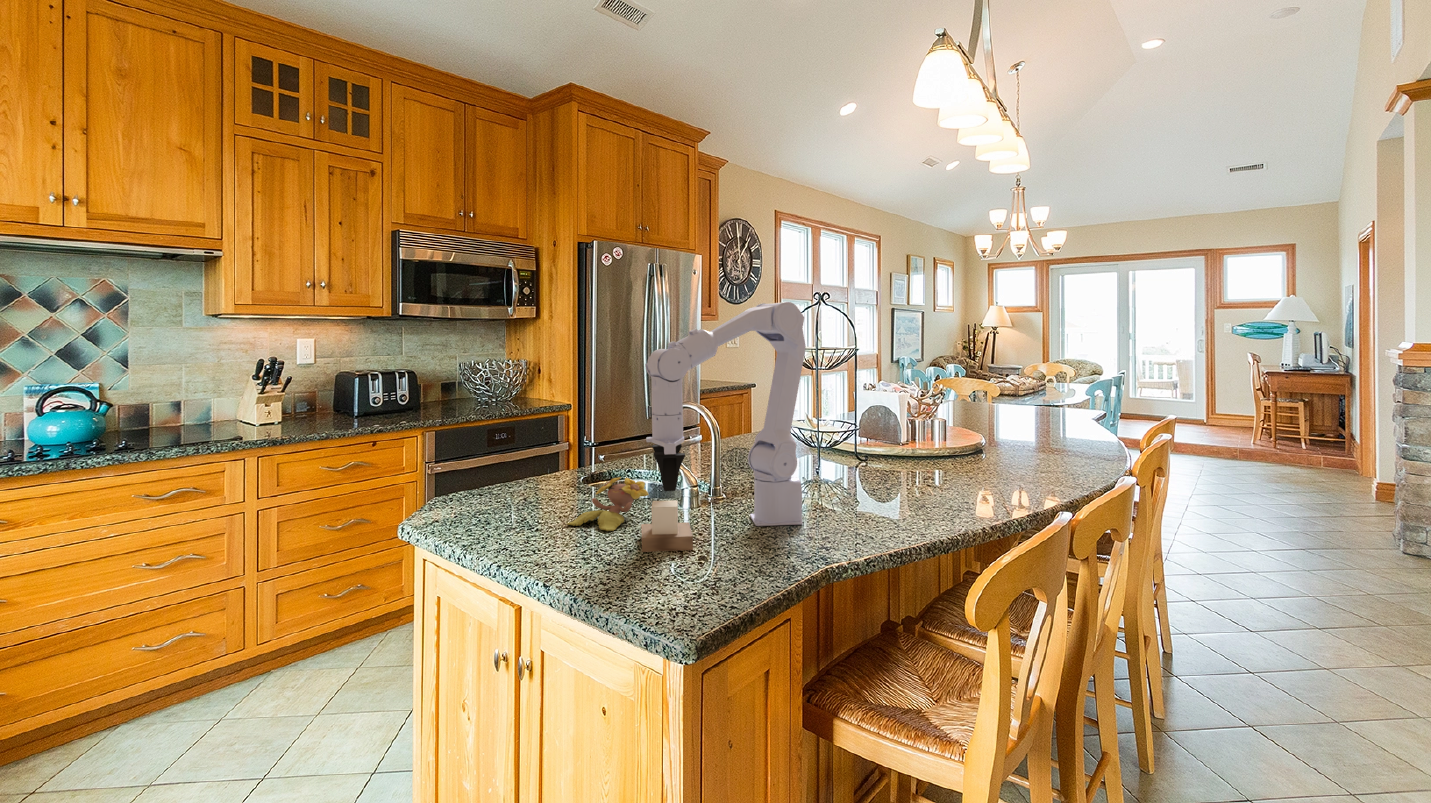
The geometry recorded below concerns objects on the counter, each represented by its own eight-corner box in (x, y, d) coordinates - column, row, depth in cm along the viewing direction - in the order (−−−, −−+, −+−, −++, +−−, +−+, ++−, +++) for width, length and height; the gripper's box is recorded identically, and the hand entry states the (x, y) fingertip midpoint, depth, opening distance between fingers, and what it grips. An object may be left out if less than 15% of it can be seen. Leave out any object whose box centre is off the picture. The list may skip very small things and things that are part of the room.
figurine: (560, 523, 137) (590, 460, 145) (583, 544, 144) (610, 483, 152) (612, 531, 132) (640, 465, 140) (632, 553, 139) (658, 489, 146)
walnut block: (689, 537, 131) (688, 522, 131) (692, 552, 122) (692, 536, 122) (641, 539, 130) (641, 524, 130) (642, 554, 121) (641, 538, 121)
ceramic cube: (677, 526, 128) (677, 500, 127) (677, 533, 123) (677, 506, 123) (653, 527, 127) (652, 500, 127) (652, 534, 123) (651, 507, 122)
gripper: (645, 409, 134) (646, 478, 135) (646, 419, 119) (648, 495, 121) (681, 409, 135) (682, 477, 136) (686, 418, 120) (688, 494, 122)
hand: (668, 486), depth 128 cm, fingers open, 7 cm apart
